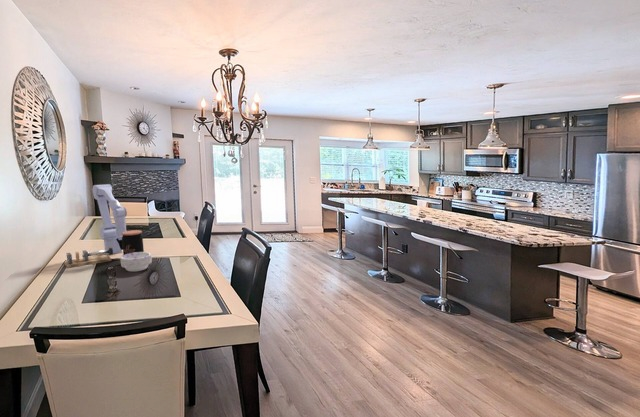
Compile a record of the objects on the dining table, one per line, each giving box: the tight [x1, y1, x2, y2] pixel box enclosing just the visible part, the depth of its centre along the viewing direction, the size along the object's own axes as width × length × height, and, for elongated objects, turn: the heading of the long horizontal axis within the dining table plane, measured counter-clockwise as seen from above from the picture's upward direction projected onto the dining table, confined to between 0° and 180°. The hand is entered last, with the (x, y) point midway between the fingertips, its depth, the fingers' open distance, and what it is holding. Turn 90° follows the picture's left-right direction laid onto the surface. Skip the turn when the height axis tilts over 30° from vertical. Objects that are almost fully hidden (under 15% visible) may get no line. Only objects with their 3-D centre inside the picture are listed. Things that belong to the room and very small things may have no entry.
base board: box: [63, 254, 112, 269], centre depth 230 cm, size 22×12×2 cm, turn 130°
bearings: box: [66, 250, 89, 264], centre depth 227 cm, size 10×6×5 cm, turn 130°
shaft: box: [81, 248, 113, 258], centre depth 233 cm, size 16×4×4 cm, turn 130°
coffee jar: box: [122, 229, 145, 256], centre depth 227 cm, size 11×11×18 cm
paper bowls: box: [119, 251, 153, 273], centre depth 214 cm, size 15×15×8 cm
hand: (122, 249), depth 242 cm, fingers closed
